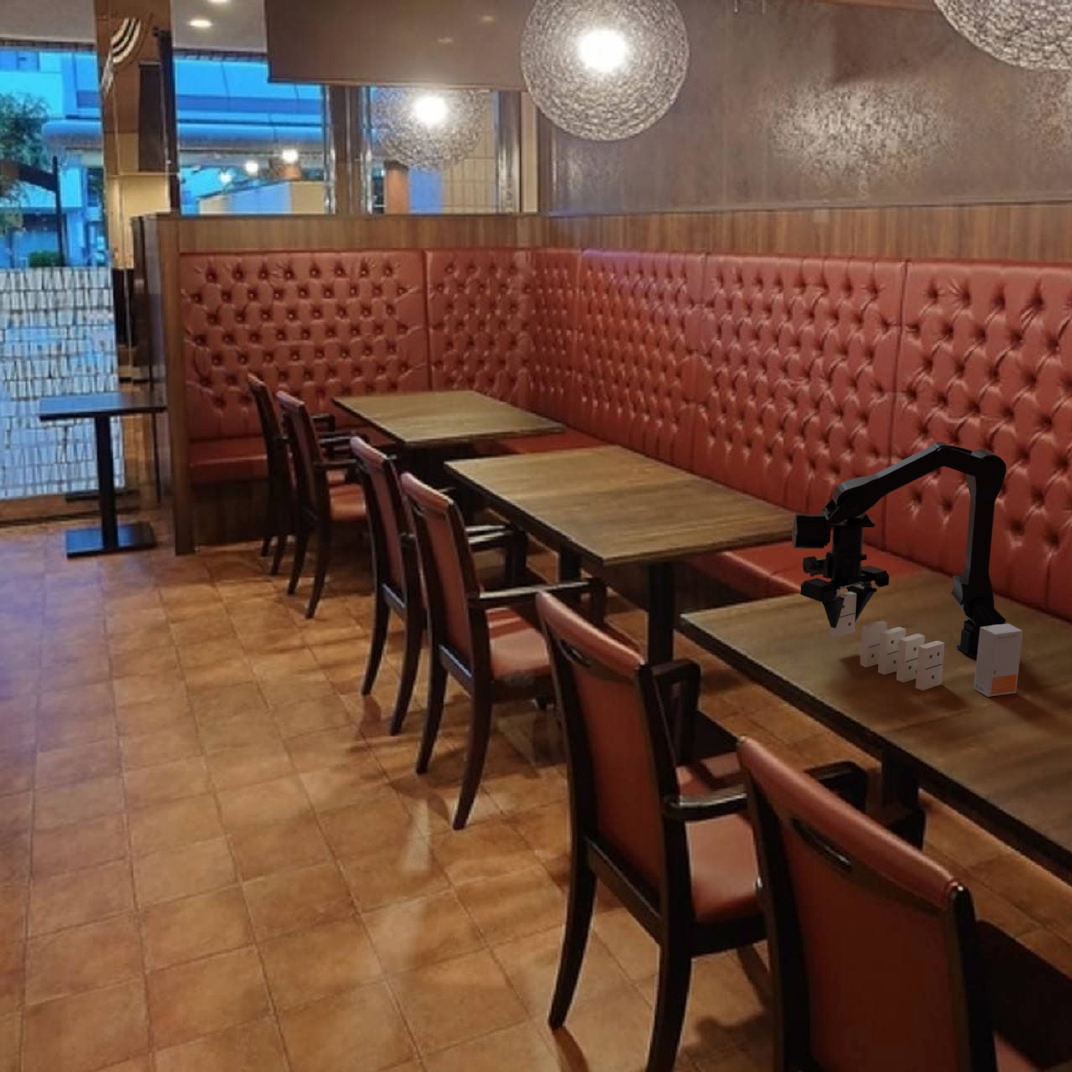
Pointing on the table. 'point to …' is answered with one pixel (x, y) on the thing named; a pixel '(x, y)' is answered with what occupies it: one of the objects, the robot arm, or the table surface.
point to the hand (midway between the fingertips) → (842, 624)
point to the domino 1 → (846, 616)
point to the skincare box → (998, 660)
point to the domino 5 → (930, 665)
